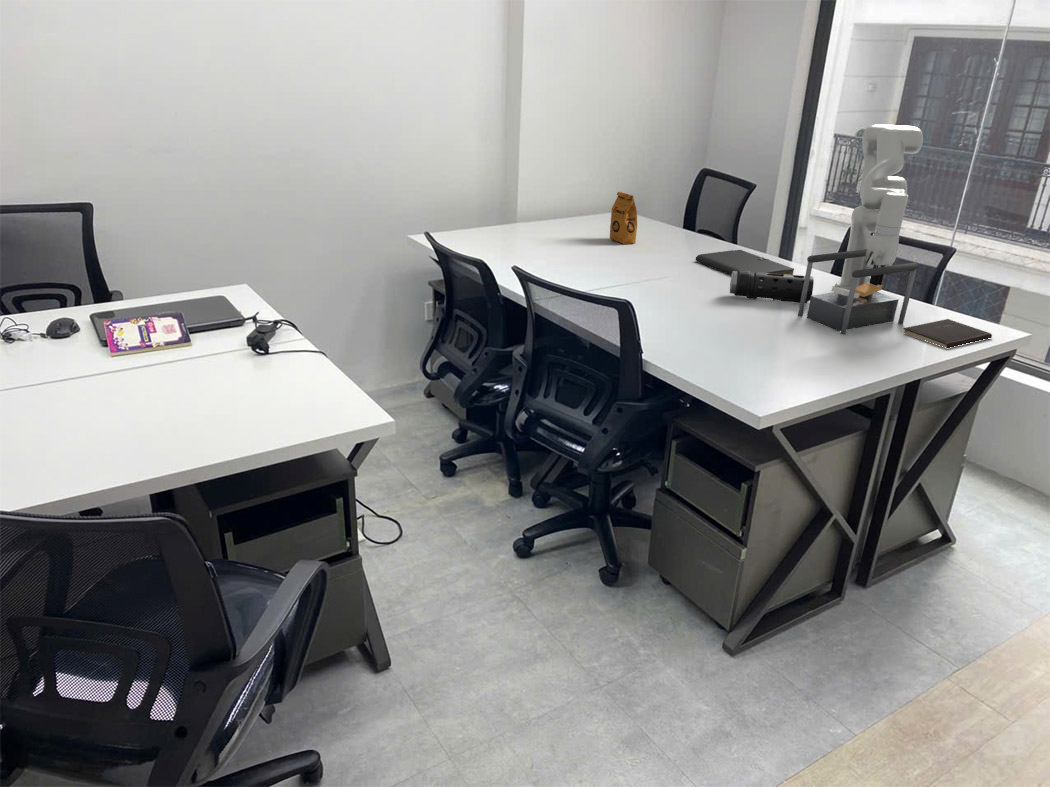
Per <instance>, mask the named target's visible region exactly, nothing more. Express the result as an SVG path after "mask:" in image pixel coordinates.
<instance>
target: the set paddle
mask: <svg viewBox="0 0 1050 787" xmlns="http://www.w3.org/2000/svg"><path fill="white" fill-rule="evenodd" d="M830 291H831V292H832V293H833V292H836V293H838V294H841V295H845V296H849V291H850V290H849V289H844V288H839V287H836V286H832V287H831V290H830ZM859 295H860V293H858V292H855V294H854V297H855V298H859Z"/></svg>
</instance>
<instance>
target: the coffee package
mask: <svg viewBox="0 0 1050 787" xmlns="http://www.w3.org/2000/svg"><path fill="white" fill-rule="evenodd" d="M616 195H617V197H616V198H615V201H614V203H613V205H612V207H611V213H610V214H611V216H610V226H609V239H611V240H612V241H615V242H617V243H618V244H619V243H620V244H623V245H632V244H633V245H634V244H636V241H637V230H638V211H637V210H638V209H637V205H636V201H635V199H634V195H632V194H628V193H627V192H622V191H618V192H616Z"/></svg>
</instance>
